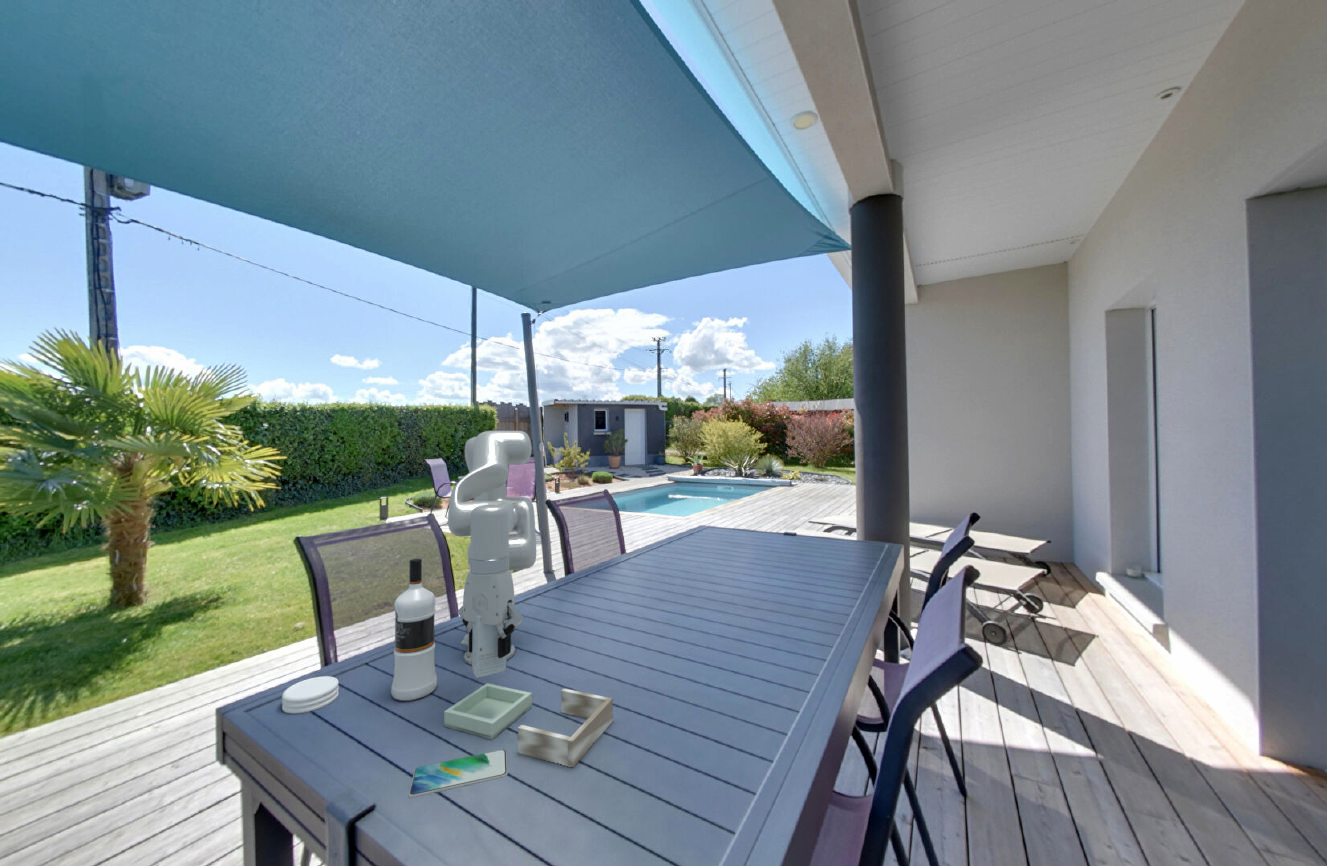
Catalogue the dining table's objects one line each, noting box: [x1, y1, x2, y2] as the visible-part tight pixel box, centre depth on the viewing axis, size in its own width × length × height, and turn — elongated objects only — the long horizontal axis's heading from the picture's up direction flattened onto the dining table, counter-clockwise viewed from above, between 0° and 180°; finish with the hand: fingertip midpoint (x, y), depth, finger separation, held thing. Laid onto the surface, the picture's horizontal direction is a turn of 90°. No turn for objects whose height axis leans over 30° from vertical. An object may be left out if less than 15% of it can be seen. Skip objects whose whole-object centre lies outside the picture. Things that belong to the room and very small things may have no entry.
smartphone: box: [408, 749, 508, 799], centre depth 82 cm, size 7×1×15 cm
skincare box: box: [471, 615, 507, 679], centre depth 99 cm, size 6×4×12 cm
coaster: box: [281, 675, 340, 715], centre depth 105 cm, size 10×10×4 cm
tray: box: [443, 682, 533, 741], centre depth 99 cm, size 12×12×3 cm
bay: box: [517, 688, 614, 768], centre depth 92 cm, size 12×15×4 cm
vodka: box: [390, 557, 438, 702], centre depth 109 cm, size 9×9×30 cm
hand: (489, 652), depth 99 cm, fingers closed on skincare box, 6 cm apart
